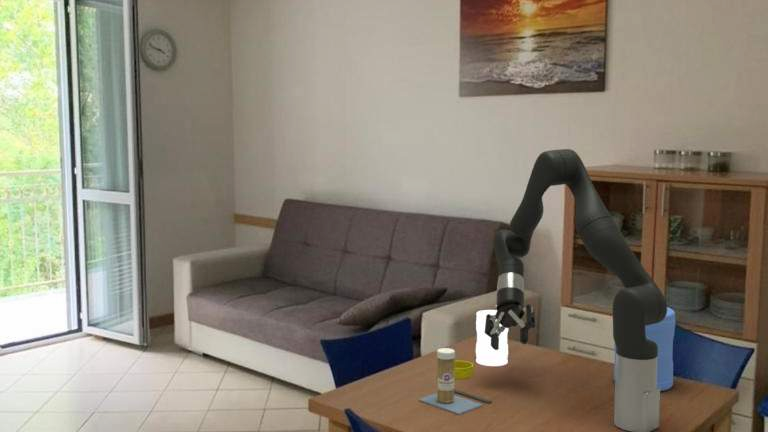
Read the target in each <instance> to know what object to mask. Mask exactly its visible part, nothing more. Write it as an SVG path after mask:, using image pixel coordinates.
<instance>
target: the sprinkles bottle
mask: <svg viewBox="0 0 768 432" xmlns="http://www.w3.org/2000/svg"><path fill="white" fill-rule="evenodd" d="M455 358H456V351H455V350H454V349H453V348H449V347H443V348H438V349H437V351H436V359H437V370H436V373H437V374H436V377H437V378H436V383H437V384H436V388H437V389H436V390H437V392H436V393H437V401H438V402H441V403H452V402H453V401H454V395H455V393H454V389H455V379H454V361H455Z"/></svg>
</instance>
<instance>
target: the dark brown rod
mask: <svg viewBox="0 0 768 432" xmlns="http://www.w3.org/2000/svg"><path fill="white" fill-rule="evenodd" d="M454 394H457V395H461V396H464V397H467V398H470V399H473V400H476V401H479V402H483V403H484V404H488V405H490V404H492V402H493V401H492V400H489V399H486V398H483V397H480V396H477V395H473V394H471V393H467V392H464V391H461V390H458V389H455V388H454Z"/></svg>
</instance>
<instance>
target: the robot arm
mask: <svg viewBox="0 0 768 432" xmlns="http://www.w3.org/2000/svg"><path fill="white" fill-rule="evenodd" d="M562 185H566V186H567V188H568V189H569V191H570V192H571V194H572V195H573V198H574V200H575V205H576V206H575V217H574V220H575V221H574V225H575V231H576V233H577V236H578V237H579V238H580V240H581V242H582V244H583V245H584V247H585V249H586V250H587V252H588V253H589V254H590V255H591V257H593V258H594V259H595V260H596V261H597V262H598V263H600V264H601V265H602V266H603V267H605V268H606V269H607V270H609V271H610V272H611V273H612V274H614V276H615V277H616V278H618V279H619V281H620V282H621V284H622V285H623V286H624V288H621V289H619V290H618V291H617V292H616V294H615V296H614V299H613V302H612V336H613V337H612V338H613V341H614V345H616V375H615V381H614V384H615V385H614V413H613V415H614V416H613V418H614V421H613V423H614V426H616V427H617V428H619V429H620V430H621V429H622V430H623V431H628V432H652V431H654V430H656V429H659V428H660V406H661V405H660V404H661V403H660V402H661V400H660V398H661V391H660V388H659V387H657V359H658V346H657V344H656V343H655V342H653V341H651V340H648V339H646V335H645V326H646V325H651V324H655V323H659V322H661V321H662V320H663V319H664V318H665V316H666V314H667V307H668V305H667V300H666V297H665V295H664V294H663V292H662V291H661V289H660V287H659V286H658V285H657V284H656V282H655V281H654V280H653V278H652V276H651V275H650V274H649V273H648V272H647V270H646V269H645V268H644V266H643V265H642V263H641V262H640V261H639V259H638V258H637V256H636V254H635V253H634V252H633V250H632V248H631V246H630V245H629V243H628V242H627V240H626V239H625V237H624V236H623V234H622V231H621V229H620V228H619V226H618V224H617V223H616V222H615V220H614V218H613V216H612V215H611V214H610V212H609V210H608V208H607V207H606V205H605V204H604V201H602V199H601V197H600V194H599V193H598V192H597V190H596V188H595V186H594V184H593V182H592V179H591V177H590V175H589V173H588V171H587V169H586V167H585V164H584V162H583V160H582V159H581V157H580V155H579V154H578V153H577V152H576V151H575V150H573V149H570V148H564V149H563V148H561V149H552V150H546V151H543V152H541V153H540V154H539V155H538V156H537V158H536V160H535V161H534V164H533V167H532V170H531V172H530V177H529V179H528V182H527V184H526V189H525V192H524V194H523V197H522V200H521V202H520V203H519V206H518V207H517V209H516V210H515V213H514V215H513V216H512V218H511V220H510V223H509V227H510V230H508V229H500V230H498V231H496V233H495V234H494V236H493V243H492V245H493V251H494V254H495V258H496V262H497V264H498V274H497V275H498V279H497V285H496V303H495V307H496V306H497V307H496V310H497V313H496V315H490V314H488V315H487V316H486V324H485V334H487V335H488V336H489V337H491V347H492V348H493V349H495V350H498V349H499V338H498V337H499V335H500V334H501V332H503V331H504V330H505V328H508V329H509V328H511V327H516V326H517V325H519V326H520V329H519V341H520V343H521V344H522V345H527V343H528V341H529V331H530V329H535V328H536V313H535V308H534V307H533V306H532V305H530V304H526V305H525V281H524V280H525V279H524V276H525V275H524V271H525V270H524V268H525V266H524V262H523V261H522V260H521V259H520V258H525V257H526V256H527V255H528V254H529V252H530V248H531V241H532V238H533V234H534V231H535V230H536V229H537V227H538V225H539V223H540V222H541V220H542V219H543V215H544V202H543V196H544V194H545V193H546V192H547V191H548V189H549V188H550V187H551V186H553V187H554V186H562ZM524 315H525V316H526V322H524V320H523V317H524ZM496 319H497V321H496ZM495 321H496V322H495ZM494 323H495V324H494ZM499 324H501V325H502V326H501V327H500V326H499ZM497 329H498V330H497ZM496 331H497V332H496Z"/></svg>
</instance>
